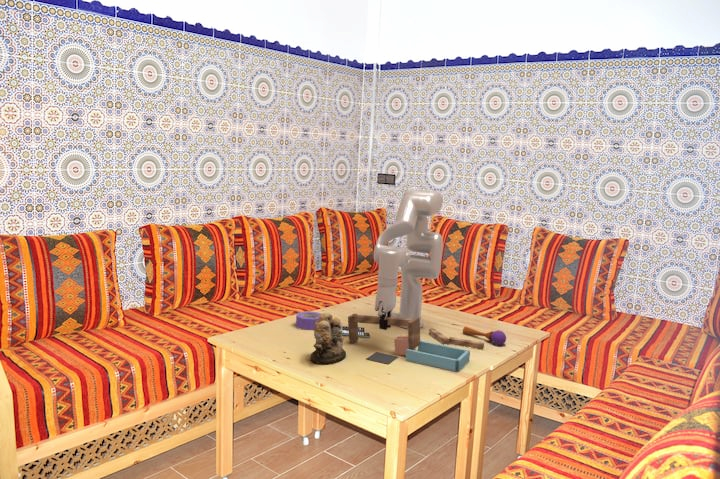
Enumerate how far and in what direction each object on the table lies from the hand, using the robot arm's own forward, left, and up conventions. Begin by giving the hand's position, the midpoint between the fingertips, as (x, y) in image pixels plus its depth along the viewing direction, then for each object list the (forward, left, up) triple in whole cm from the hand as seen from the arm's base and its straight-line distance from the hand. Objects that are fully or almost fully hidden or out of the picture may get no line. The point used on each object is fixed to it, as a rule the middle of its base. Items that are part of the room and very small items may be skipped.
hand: (384, 327), depth 223 cm
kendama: (+30, +35, -9) cm, 47 cm away
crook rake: (0, 0, -7) cm, 7 cm away
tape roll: (-39, +8, -9) cm, 41 cm away
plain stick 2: (+26, +23, -9) cm, 36 cm away
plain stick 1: (+14, +25, -9) cm, 30 cm away
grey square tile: (+4, -10, -8) cm, 14 cm away
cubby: (+22, 0, -8) cm, 24 cm away
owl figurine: (-13, -21, -9) cm, 26 cm away
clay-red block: (+9, 0, -8) cm, 12 cm away
